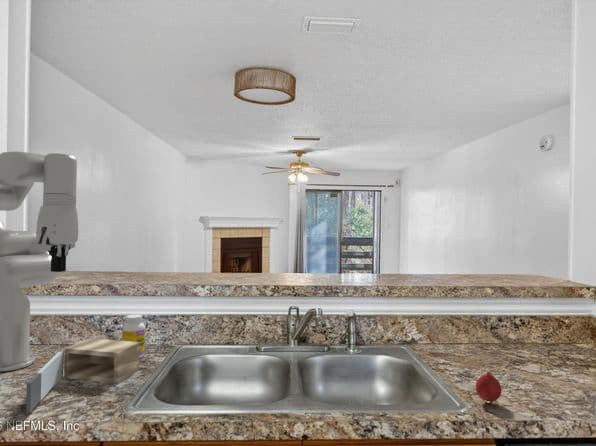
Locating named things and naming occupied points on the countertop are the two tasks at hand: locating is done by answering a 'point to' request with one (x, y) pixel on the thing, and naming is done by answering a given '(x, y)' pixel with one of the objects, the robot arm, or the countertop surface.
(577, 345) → the countertop surface
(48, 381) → the door
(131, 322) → the supplement bottle
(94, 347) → the cabinet
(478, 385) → the onion
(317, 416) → the countertop surface
